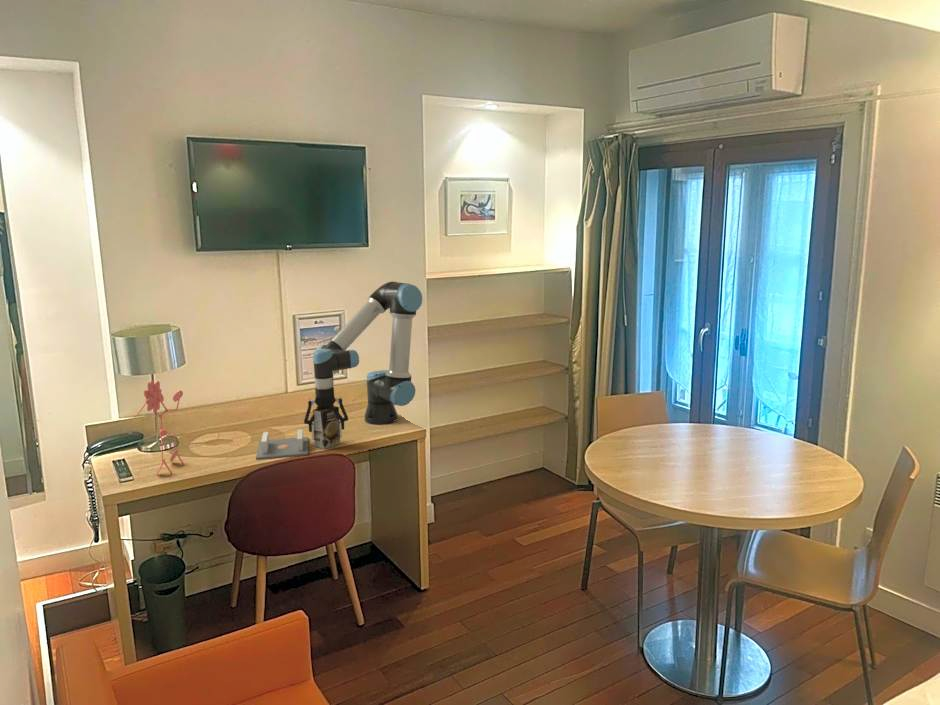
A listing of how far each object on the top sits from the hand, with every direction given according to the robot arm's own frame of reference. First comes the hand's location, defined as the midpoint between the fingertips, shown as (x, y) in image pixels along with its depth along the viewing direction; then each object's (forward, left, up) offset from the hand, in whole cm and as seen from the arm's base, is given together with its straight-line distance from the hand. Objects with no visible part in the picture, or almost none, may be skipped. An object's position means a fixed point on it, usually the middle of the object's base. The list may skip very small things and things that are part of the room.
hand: (327, 437), depth 286 cm
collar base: (+18, 0, -3) cm, 18 cm away
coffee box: (0, 0, -3) cm, 3 cm away
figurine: (+63, +11, -3) cm, 64 cm away
